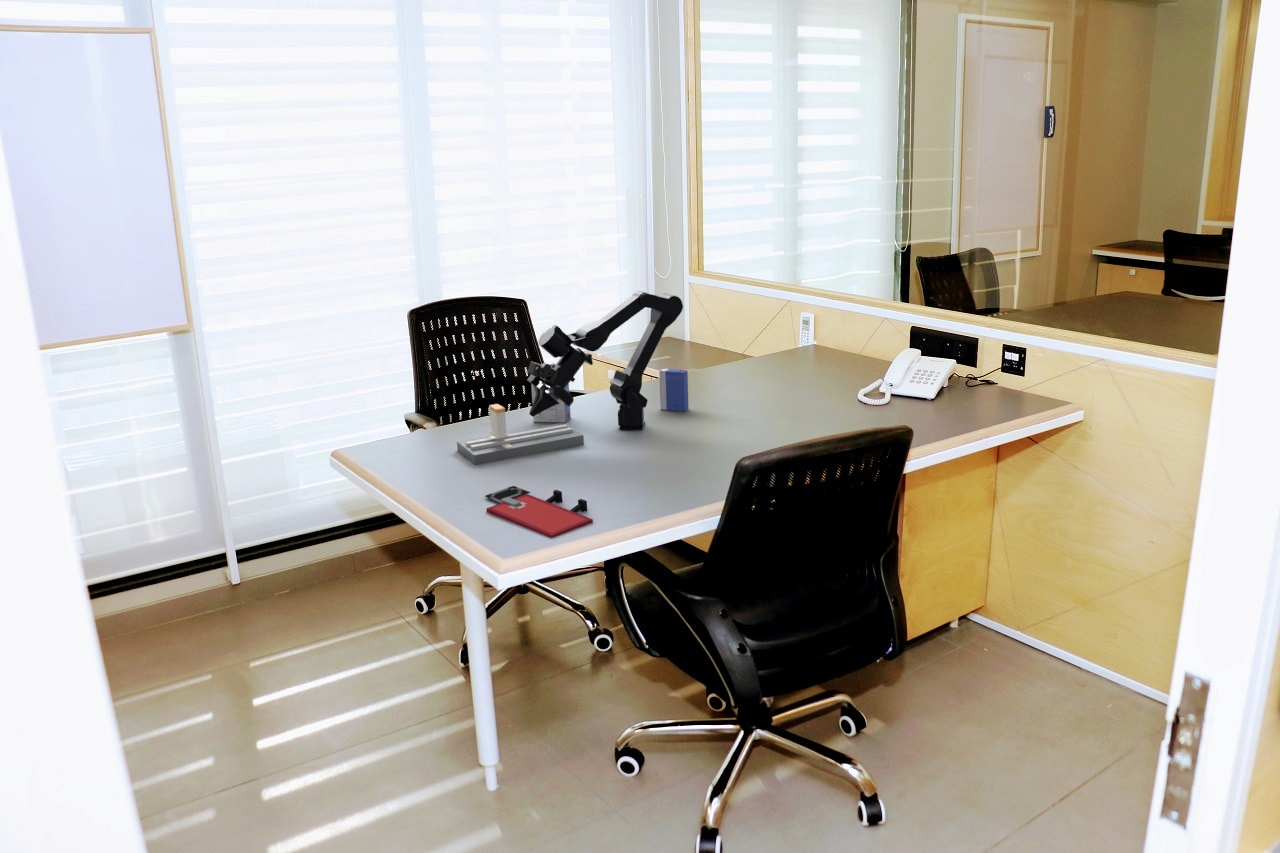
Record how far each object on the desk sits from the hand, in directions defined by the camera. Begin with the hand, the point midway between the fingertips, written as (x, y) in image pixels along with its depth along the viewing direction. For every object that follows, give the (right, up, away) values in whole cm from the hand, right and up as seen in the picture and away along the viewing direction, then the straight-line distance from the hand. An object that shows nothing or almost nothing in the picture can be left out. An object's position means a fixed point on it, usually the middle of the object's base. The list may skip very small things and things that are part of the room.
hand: (530, 415), depth 272 cm
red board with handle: (+6, -22, -44) cm, 50 cm away
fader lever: (-8, -7, -2) cm, 11 cm away
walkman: (+39, +2, +31) cm, 50 cm away
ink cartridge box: (+4, -1, +25) cm, 25 cm away
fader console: (-3, -8, +1) cm, 9 cm away
